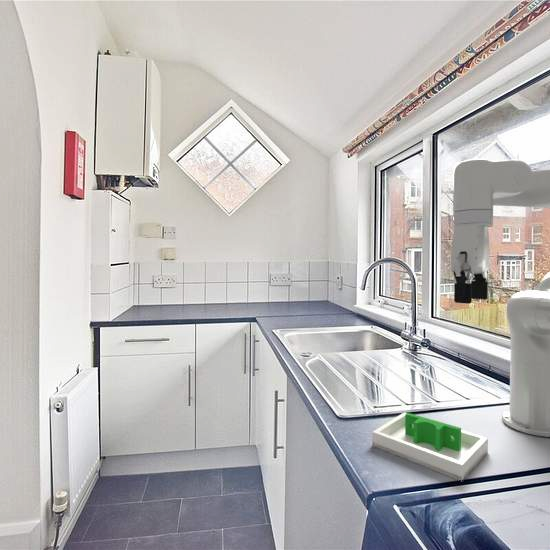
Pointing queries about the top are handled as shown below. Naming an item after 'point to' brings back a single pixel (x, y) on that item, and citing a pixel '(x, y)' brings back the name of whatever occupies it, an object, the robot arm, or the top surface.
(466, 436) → the tray
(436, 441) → the pipe clamp
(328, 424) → the top surface
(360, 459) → the top surface
